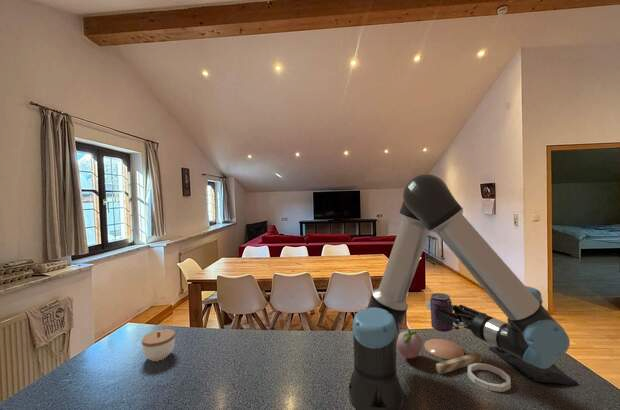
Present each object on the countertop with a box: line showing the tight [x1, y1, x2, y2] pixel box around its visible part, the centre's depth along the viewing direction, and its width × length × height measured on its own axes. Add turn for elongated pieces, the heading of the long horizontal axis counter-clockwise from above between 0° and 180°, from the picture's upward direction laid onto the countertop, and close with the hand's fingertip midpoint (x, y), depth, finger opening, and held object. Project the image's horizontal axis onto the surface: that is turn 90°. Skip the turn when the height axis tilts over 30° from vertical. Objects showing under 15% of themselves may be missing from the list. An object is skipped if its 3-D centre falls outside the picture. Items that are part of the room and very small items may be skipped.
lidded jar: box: [141, 328, 176, 362], centre depth 102 cm, size 11×11×9 cm
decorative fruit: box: [396, 329, 423, 360], centre depth 97 cm, size 9×8×10 cm
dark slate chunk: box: [488, 345, 579, 386], centre depth 92 cm, size 15×22×5 cm
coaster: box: [424, 338, 465, 361], centre depth 102 cm, size 13×13×1 cm
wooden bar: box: [435, 351, 483, 375], centre depth 92 cm, size 18×2×2 cm, turn 110°
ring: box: [466, 362, 512, 393], centre depth 85 cm, size 11×12×2 cm
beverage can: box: [429, 292, 454, 333], centre depth 101 cm, size 7×7×12 cm
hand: (433, 303), depth 106 cm, fingers closed on beverage can, 5 cm apart
